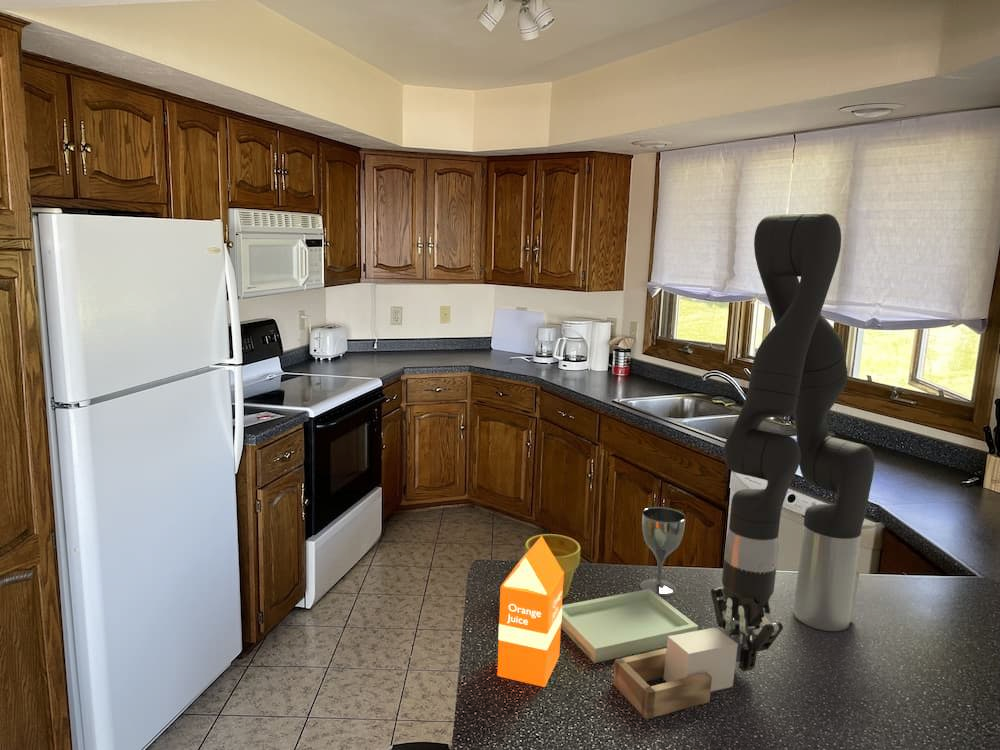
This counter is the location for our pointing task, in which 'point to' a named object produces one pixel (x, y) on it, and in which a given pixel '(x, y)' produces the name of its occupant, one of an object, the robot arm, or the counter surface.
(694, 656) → the cream and grey blocks
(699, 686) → the dock
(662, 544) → the wine glass
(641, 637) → the tray
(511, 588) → the orange juice
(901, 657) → the counter surface
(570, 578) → the plant pot
